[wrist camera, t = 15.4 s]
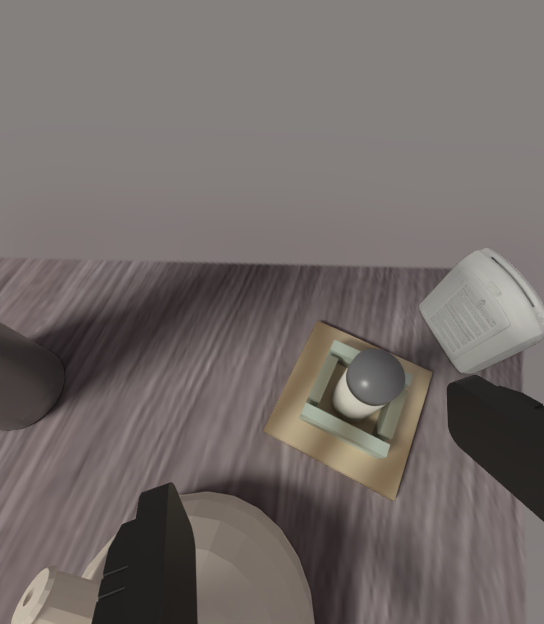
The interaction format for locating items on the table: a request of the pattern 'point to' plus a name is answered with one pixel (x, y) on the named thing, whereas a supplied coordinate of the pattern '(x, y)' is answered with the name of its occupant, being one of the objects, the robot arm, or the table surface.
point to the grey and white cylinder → (367, 385)
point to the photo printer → (484, 312)
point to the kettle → (199, 572)
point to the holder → (337, 432)
